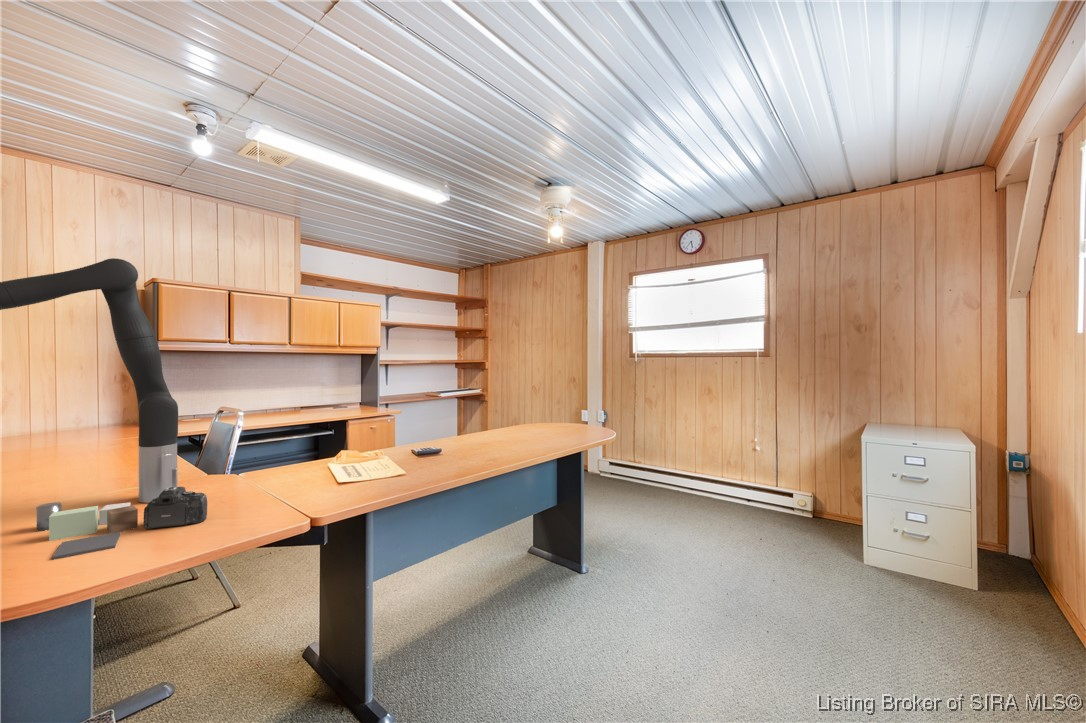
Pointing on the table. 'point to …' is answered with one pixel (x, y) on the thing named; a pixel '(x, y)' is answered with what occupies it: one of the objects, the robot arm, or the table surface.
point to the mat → (86, 545)
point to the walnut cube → (122, 519)
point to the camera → (175, 508)
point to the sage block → (73, 523)
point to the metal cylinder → (46, 514)
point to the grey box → (108, 507)
